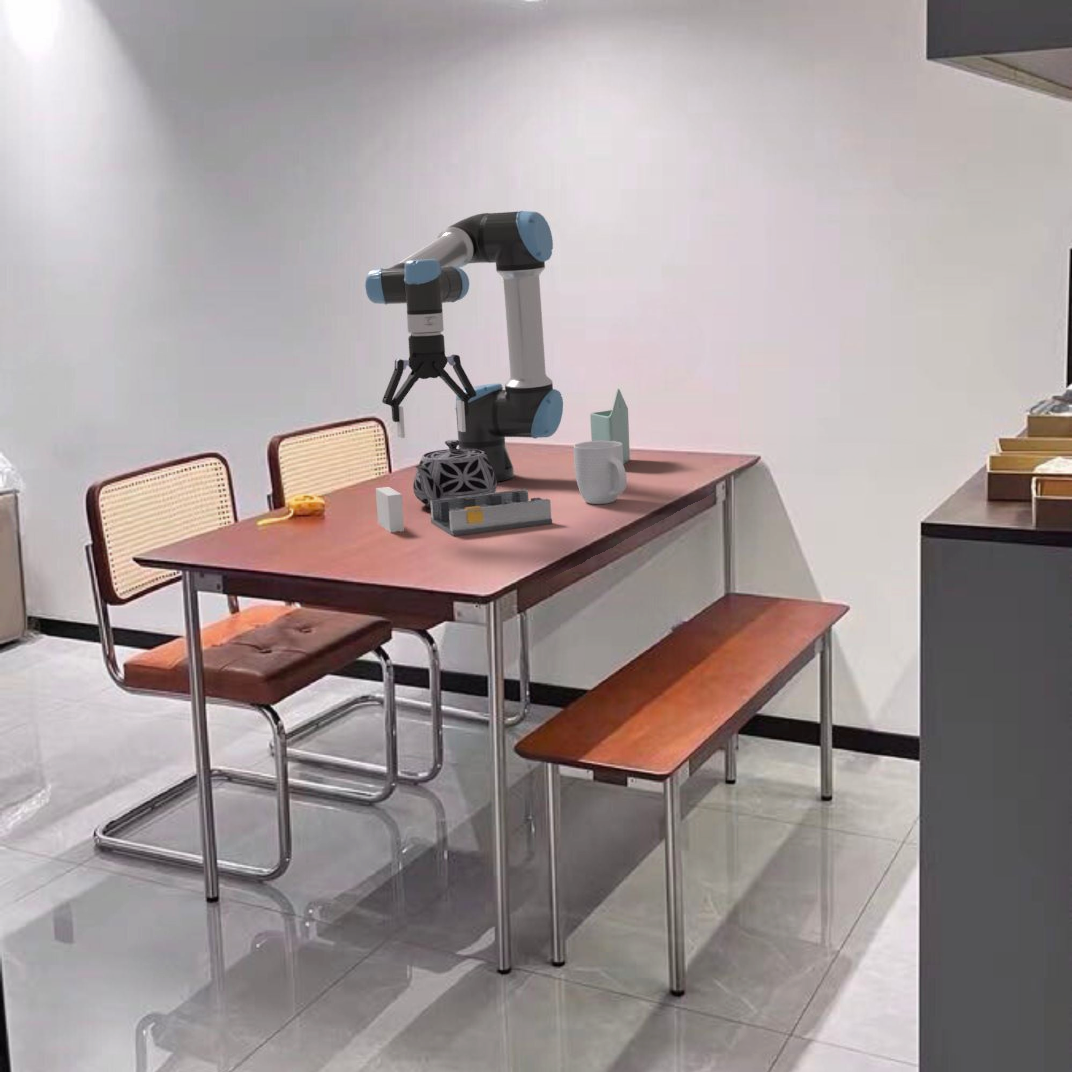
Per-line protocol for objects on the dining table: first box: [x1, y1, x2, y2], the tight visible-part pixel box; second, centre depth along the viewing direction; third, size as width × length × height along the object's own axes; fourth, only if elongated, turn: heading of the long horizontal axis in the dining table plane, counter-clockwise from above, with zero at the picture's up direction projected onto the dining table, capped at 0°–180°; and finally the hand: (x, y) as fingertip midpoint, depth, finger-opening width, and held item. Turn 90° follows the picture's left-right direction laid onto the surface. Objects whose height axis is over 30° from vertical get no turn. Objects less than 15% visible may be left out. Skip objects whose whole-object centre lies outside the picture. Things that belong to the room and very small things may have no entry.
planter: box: [589, 388, 631, 465], centre depth 377 cm, size 16×8×20 cm, turn 162°
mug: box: [573, 440, 627, 505], centre depth 330 cm, size 15×11×13 cm
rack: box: [430, 488, 553, 537], centre depth 315 cm, size 16×22×5 cm
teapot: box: [412, 439, 498, 509], centre depth 335 cm, size 19×31×15 cm, turn 153°
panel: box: [375, 486, 405, 533], centre depth 316 cm, size 10×3×8 cm, turn 21°
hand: (431, 434), depth 315 cm, fingers open, 13 cm apart
